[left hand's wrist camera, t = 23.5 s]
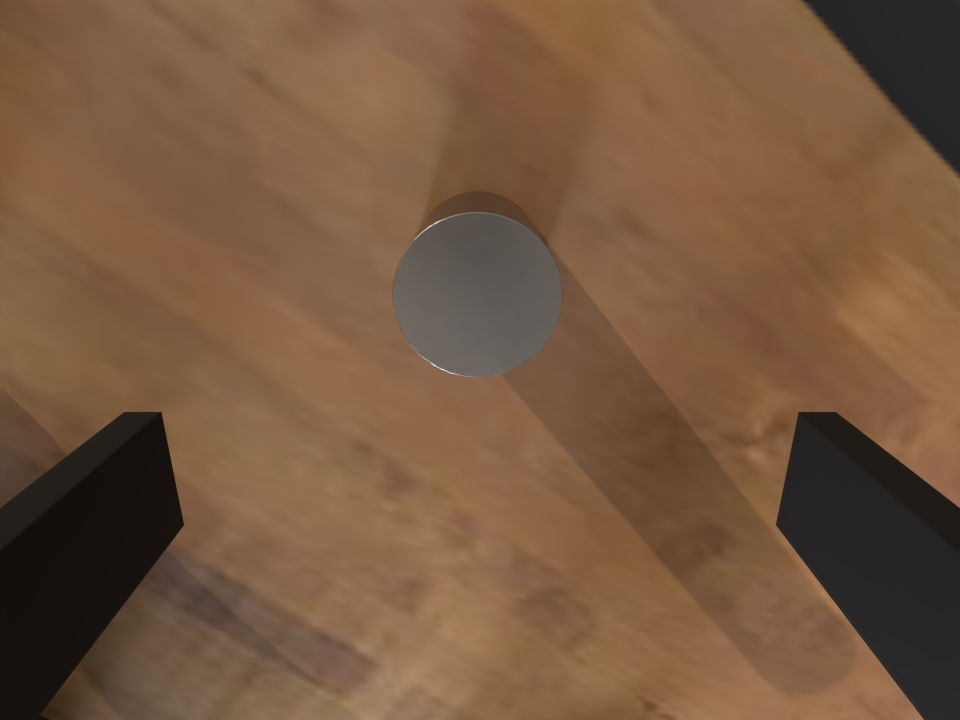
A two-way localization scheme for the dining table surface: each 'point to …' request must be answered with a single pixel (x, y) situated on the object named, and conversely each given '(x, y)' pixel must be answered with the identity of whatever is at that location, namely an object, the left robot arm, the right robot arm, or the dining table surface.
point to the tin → (477, 287)
